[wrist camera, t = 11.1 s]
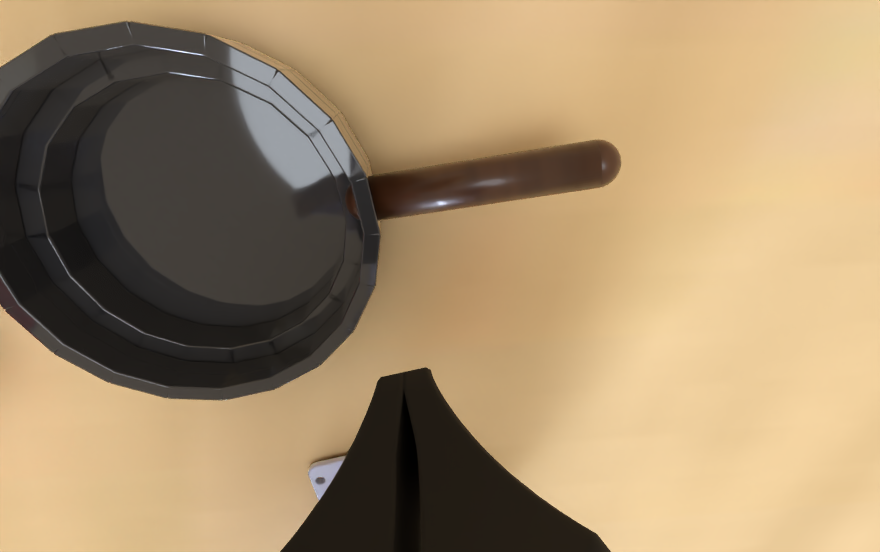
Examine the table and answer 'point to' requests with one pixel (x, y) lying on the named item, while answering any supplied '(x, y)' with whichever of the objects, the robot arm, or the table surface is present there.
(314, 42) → the table surface
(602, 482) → the table surface
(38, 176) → the pan
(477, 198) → the pan handle
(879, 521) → the table surface
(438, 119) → the table surface
